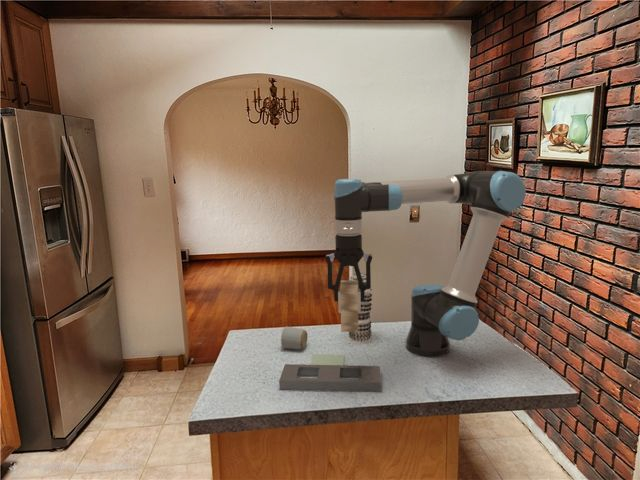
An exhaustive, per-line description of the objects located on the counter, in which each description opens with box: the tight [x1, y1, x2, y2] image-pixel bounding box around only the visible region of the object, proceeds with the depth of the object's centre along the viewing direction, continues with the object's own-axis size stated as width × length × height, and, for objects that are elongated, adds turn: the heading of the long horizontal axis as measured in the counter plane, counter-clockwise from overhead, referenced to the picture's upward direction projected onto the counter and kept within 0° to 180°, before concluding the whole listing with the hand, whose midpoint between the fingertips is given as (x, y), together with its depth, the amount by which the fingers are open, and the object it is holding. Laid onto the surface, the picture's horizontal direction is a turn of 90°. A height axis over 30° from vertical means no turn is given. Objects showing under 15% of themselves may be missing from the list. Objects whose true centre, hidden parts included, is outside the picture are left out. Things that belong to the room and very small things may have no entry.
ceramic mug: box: [280, 326, 309, 350], centre depth 152 cm, size 11×8×8 cm
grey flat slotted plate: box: [278, 363, 383, 393], centre depth 127 cm, size 30×10×3 cm, turn 85°
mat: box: [309, 353, 345, 365], centre depth 139 cm, size 11×11×1 cm
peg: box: [339, 280, 358, 333], centre depth 122 cm, size 5×5×14 cm
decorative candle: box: [348, 272, 373, 344], centre depth 155 cm, size 9×9×25 cm
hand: (349, 311), depth 122 cm, fingers closed on peg, 5 cm apart
